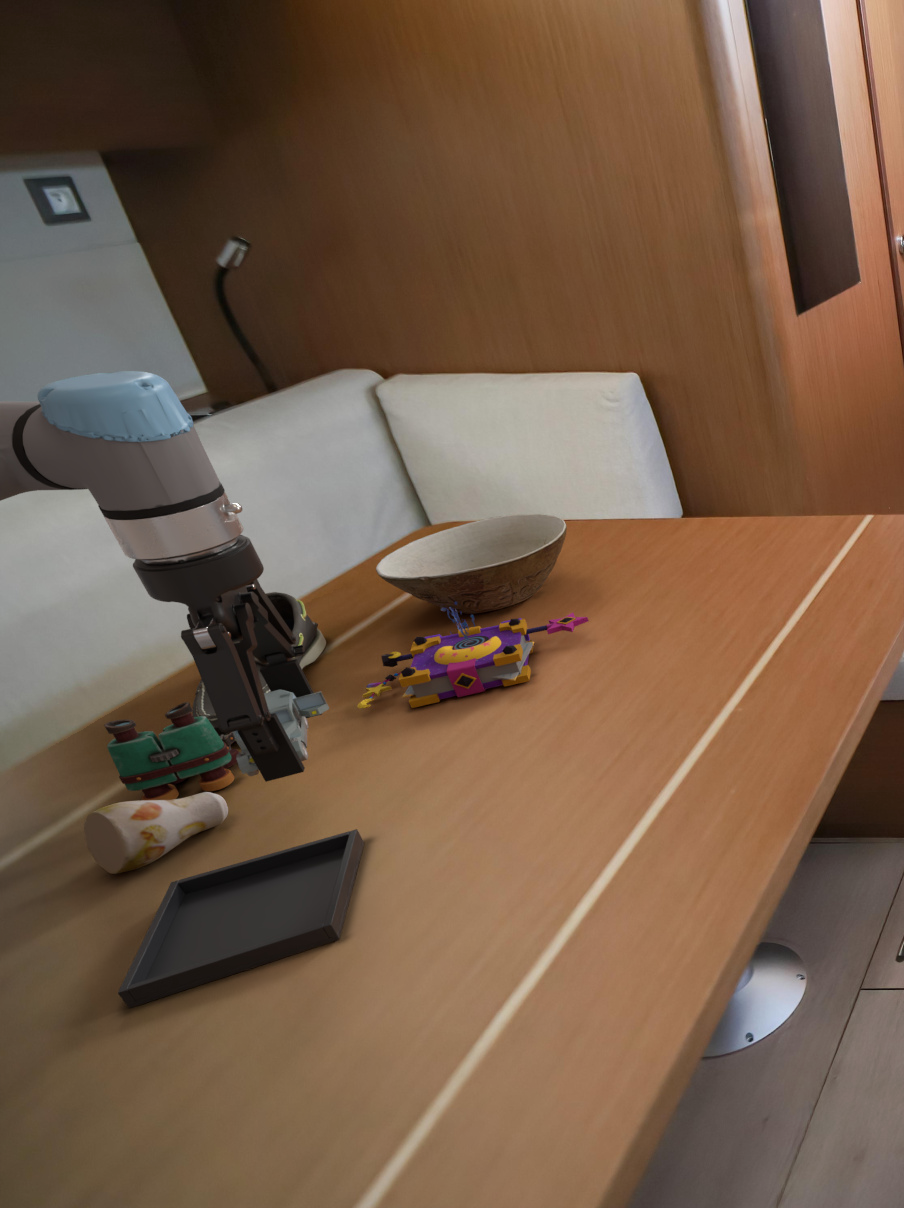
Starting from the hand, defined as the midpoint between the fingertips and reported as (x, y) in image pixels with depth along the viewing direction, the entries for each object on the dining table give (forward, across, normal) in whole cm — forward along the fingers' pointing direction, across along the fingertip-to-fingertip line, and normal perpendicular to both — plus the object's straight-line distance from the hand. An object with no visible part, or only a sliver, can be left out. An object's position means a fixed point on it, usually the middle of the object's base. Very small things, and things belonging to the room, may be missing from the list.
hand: (295, 744), depth 95 cm
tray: (+13, -8, +6) cm, 17 cm away
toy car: (0, 0, 0) cm, 0 cm away
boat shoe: (+14, +43, +13) cm, 47 cm away
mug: (+14, +10, +16) cm, 23 cm away
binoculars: (+14, +23, +16) cm, 32 cm away
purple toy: (+14, +33, -11) cm, 37 cm away
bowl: (+14, +58, -11) cm, 61 cm away
